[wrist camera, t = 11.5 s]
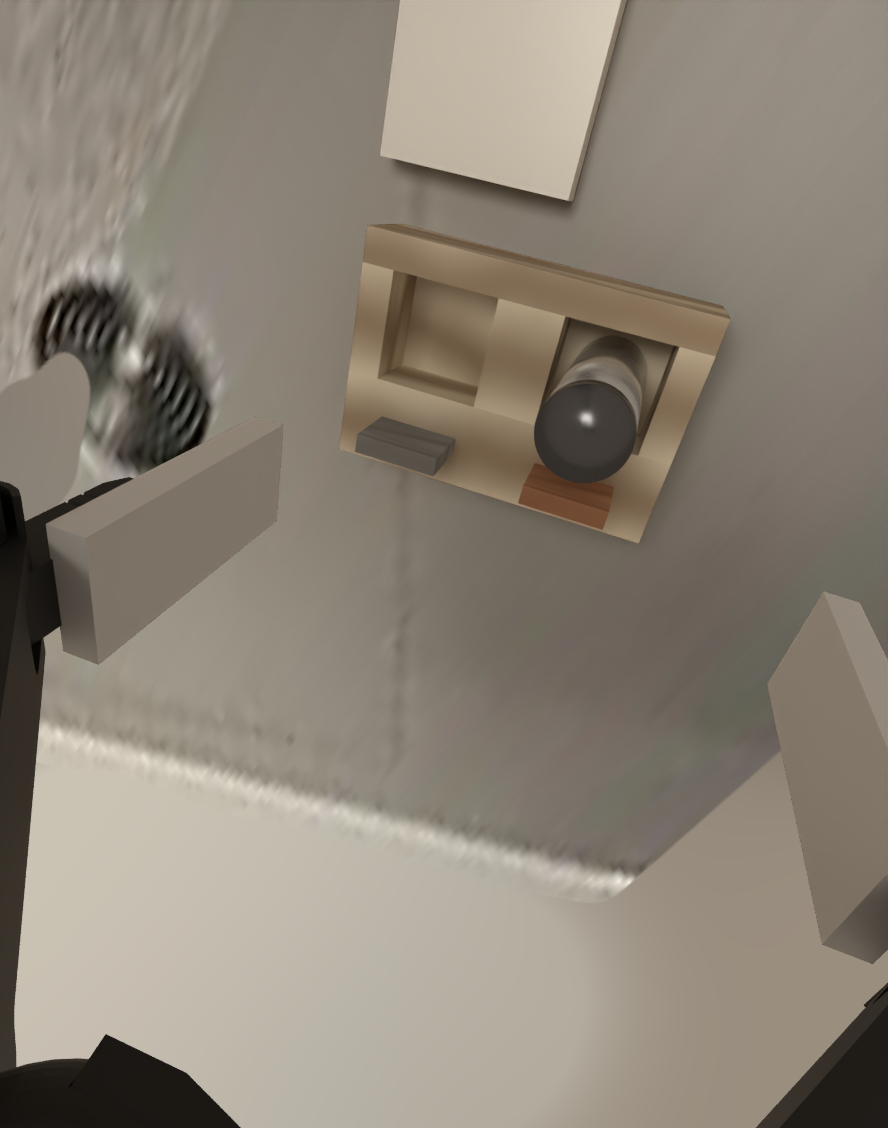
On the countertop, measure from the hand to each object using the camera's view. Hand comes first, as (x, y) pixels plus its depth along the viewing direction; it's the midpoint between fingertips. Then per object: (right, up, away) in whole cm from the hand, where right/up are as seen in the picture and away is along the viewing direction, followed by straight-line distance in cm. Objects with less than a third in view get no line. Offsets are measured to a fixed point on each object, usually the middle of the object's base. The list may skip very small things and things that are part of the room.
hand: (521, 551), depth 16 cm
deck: (+1, +24, +16) cm, 29 cm away
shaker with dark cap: (+7, +10, +21) cm, 24 cm away
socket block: (+3, +11, +23) cm, 25 cm away
